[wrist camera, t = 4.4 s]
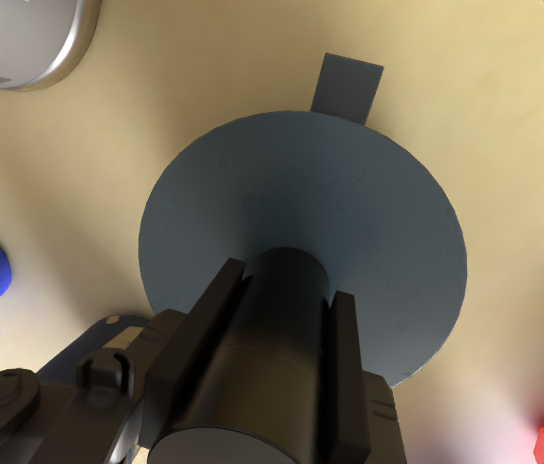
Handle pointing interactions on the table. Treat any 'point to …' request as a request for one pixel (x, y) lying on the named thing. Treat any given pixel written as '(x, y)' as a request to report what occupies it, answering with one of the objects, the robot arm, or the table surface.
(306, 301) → the lid
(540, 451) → the apple
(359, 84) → the pot
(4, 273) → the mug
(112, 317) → the canister
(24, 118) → the table surface
